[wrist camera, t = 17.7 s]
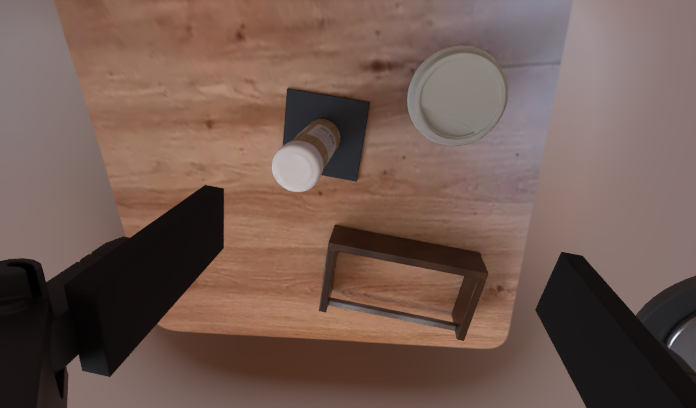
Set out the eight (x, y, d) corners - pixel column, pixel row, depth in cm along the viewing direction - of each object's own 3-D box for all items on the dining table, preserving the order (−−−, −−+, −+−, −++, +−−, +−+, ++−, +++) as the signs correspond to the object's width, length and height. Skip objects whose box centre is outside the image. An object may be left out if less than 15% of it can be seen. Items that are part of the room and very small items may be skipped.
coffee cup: (391, 76, 41) (388, 86, 30) (459, 28, 39) (482, 20, 28) (429, 138, 44) (439, 168, 33) (496, 97, 41) (531, 114, 30)
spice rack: (480, 252, 49) (488, 273, 44) (458, 315, 53) (463, 340, 49) (334, 224, 50) (328, 242, 45) (325, 289, 54) (318, 311, 50)
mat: (369, 102, 43) (369, 102, 42) (357, 180, 47) (356, 181, 47) (287, 88, 43) (287, 88, 43) (282, 166, 48) (281, 167, 47)
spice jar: (299, 125, 45) (262, 154, 32) (333, 113, 43) (307, 138, 31) (313, 159, 46) (282, 199, 34) (346, 148, 45) (327, 185, 33)
